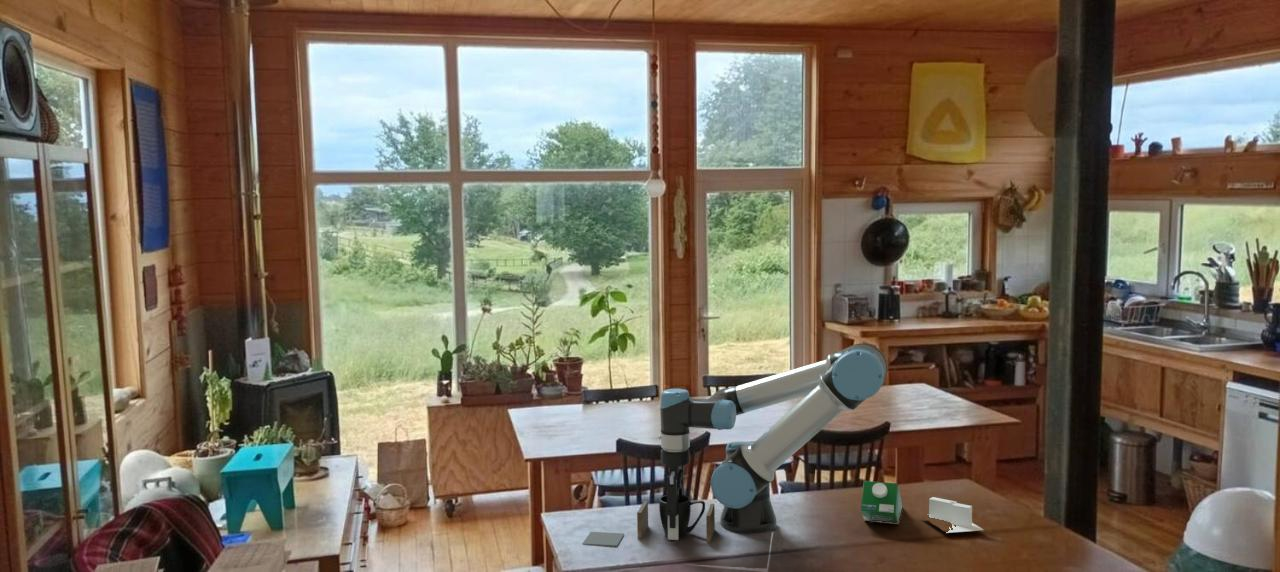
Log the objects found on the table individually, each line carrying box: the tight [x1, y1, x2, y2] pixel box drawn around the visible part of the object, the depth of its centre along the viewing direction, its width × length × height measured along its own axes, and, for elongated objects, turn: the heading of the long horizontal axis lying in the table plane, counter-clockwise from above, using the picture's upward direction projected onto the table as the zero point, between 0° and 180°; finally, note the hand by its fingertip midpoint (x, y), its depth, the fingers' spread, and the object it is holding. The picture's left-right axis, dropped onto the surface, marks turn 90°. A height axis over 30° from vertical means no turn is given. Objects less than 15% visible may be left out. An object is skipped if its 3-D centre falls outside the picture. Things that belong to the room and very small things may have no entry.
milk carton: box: [860, 480, 903, 523], centre depth 254 cm, size 9×9×25 cm
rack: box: [636, 500, 716, 544], centre depth 240 cm, size 19×10×7 cm, turn 79°
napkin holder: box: [928, 496, 984, 534], centre depth 247 cm, size 15×11×6 cm
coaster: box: [582, 531, 625, 548], centre depth 236 cm, size 9×9×1 cm
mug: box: [658, 494, 706, 539], centre depth 239 cm, size 8×12×10 cm
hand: (675, 533), depth 240 cm, fingers open, 8 cm apart
